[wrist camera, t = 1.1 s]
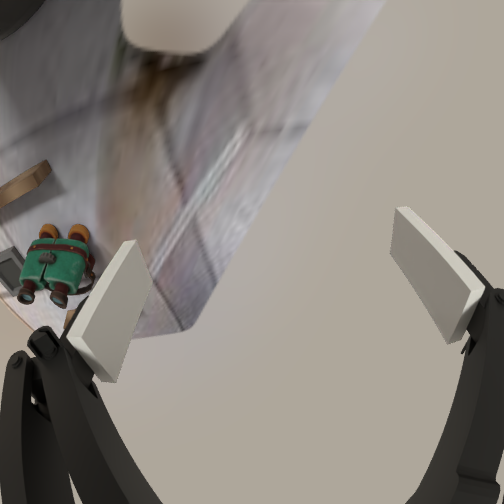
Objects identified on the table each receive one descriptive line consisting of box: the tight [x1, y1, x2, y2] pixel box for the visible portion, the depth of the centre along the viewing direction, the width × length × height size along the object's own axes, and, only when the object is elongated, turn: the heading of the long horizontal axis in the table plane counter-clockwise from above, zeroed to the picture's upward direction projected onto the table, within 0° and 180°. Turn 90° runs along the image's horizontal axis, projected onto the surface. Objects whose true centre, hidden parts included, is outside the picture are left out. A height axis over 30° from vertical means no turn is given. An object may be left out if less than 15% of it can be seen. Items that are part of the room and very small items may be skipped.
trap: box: [0, 246, 25, 297], centre depth 31 cm, size 8×8×1 cm
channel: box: [0, 160, 76, 329], centre depth 30 cm, size 13×25×4 cm, turn 10°
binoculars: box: [17, 224, 95, 309], centre depth 28 cm, size 9×11×10 cm
